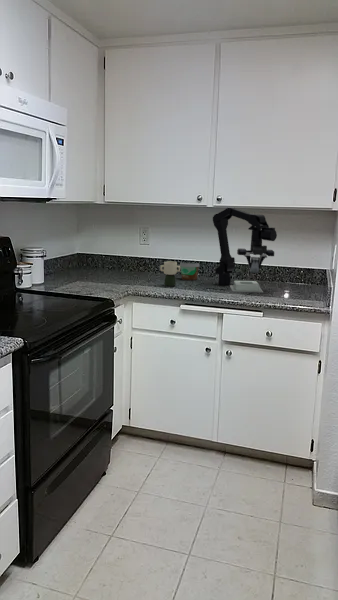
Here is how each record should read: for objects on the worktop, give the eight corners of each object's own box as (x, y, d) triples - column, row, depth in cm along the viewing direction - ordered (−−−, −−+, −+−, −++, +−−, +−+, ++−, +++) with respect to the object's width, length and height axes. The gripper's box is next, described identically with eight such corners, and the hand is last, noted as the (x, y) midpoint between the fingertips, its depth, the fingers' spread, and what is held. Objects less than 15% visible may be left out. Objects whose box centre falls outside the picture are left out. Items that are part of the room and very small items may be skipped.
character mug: (180, 284, 272) (180, 261, 269) (179, 287, 265) (180, 263, 262) (160, 284, 273) (161, 260, 270) (159, 286, 266) (159, 262, 263)
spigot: (250, 272, 258) (251, 257, 256) (249, 271, 262) (250, 256, 261) (258, 273, 258) (260, 258, 256) (257, 271, 262) (258, 256, 260)
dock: (232, 292, 256) (233, 285, 255) (229, 286, 271) (230, 279, 271) (263, 292, 256) (263, 286, 255) (258, 286, 271) (259, 280, 270)
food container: (175, 279, 288) (176, 262, 286) (180, 277, 294) (180, 261, 291) (195, 281, 283) (195, 264, 281) (199, 279, 289) (199, 262, 286)
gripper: (240, 240, 248) (238, 270, 252) (277, 241, 248) (274, 272, 252) (238, 237, 259) (236, 266, 263) (273, 239, 259) (270, 268, 263)
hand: (254, 268), depth 260 cm, fingers closed on spigot, 4 cm apart
